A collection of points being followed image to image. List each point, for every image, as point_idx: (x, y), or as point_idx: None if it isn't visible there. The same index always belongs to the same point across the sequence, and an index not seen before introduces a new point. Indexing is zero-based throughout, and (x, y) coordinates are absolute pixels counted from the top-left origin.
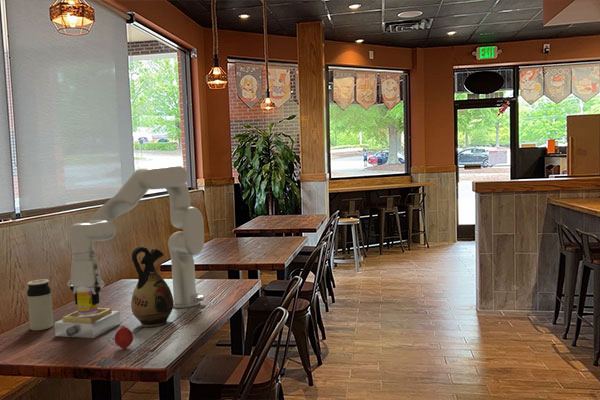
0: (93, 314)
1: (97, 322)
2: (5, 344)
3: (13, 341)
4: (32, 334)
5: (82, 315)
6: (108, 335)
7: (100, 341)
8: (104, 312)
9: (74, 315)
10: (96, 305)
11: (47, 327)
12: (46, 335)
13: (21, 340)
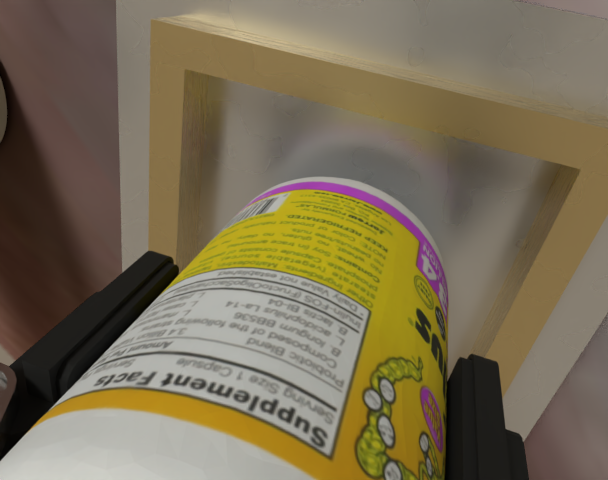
0: (371, 184)
1: (522, 434)
2: (8, 353)
3: (7, 321)
4: (7, 225)
5: (251, 198)
6: (602, 368)
7: (565, 461)
8: (560, 291)
9: (188, 245)
10: (447, 338)
11: (1, 128)
12: (110, 263)
13: (35, 316)
